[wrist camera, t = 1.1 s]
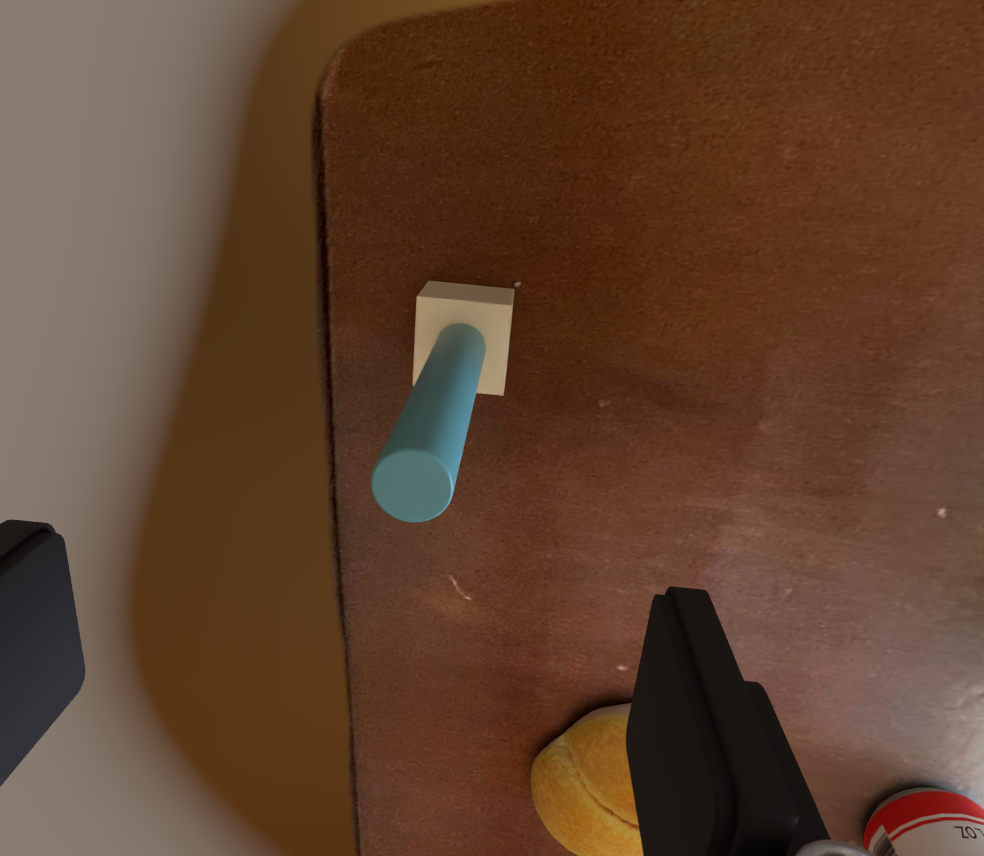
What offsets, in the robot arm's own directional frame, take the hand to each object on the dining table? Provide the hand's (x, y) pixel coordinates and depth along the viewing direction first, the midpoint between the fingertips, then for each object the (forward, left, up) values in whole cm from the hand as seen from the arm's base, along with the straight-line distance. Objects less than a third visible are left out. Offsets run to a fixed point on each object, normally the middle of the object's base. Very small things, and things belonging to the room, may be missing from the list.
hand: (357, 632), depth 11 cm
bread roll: (+22, +10, -19) cm, 30 cm away
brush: (0, 0, -18) cm, 18 cm away
